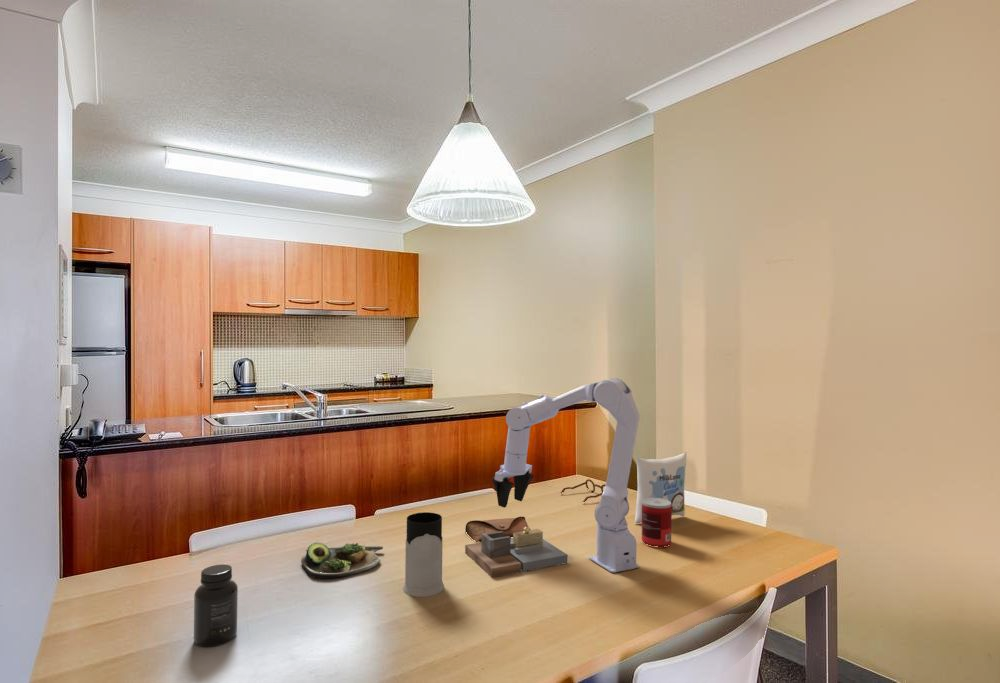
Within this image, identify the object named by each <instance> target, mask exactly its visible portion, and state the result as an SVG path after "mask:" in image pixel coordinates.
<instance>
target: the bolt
mask: <svg viewBox="0 0 1000 683" xmlns="http://www.w3.org/2000/svg"><path fill="white" fill-rule="evenodd" d="M529 529H530V527H529V526H528V527H524V531H521V532H515V533H513V548H520V547H526V546H532V545H538V544H540V545H542V546H543V539H544V538H543V537H544V531H543V530H541V529H539V528H535V529H530V530H529Z"/></svg>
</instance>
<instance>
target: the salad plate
mask: <svg viewBox="0 0 1000 683" xmlns="http://www.w3.org/2000/svg"><path fill="white" fill-rule="evenodd" d="M365 545H366V543H363V544H362V545H361V544H359V543H358V542H356V543H345V545H339V546H336V547H328V546H327V545H326V544H325V543H322V542H314V543H310V545H309V546H308V547H307V549H305V554H304V555H303V556H302V557H301V559H300V561H301V562H300V563H301V565H302V568H303V570H304V571H305V573H306V574H307V573H308V574H307V575H308V576H309V575H310V577H311V576H312V578H313V577H314V579H317V578H318V579H317V580H336V579H341V578H344V577H347V576H348V577H349V576H352V575H356V574H359V573H362V572H366V571H369V570H371V569H373V568H375V567H376V566H377V565H378V564H379V563H380V562H381V558H380V557H379V556H378V555H377V554H375V553H376V552H378V551H381V550H383V548H384V547H383V546H381V545H380V546H379V545H377V546H374V545H373V546H365ZM364 562H365V564H366V563H367V564H366V565H365V566H364V567H360V568H357V569H352V570H350V569H351V567H352V566H353V565H355V564H356V565H358V564H360V563H364ZM320 572H322V573H320Z"/></svg>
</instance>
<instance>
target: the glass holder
mask: <svg viewBox="0 0 1000 683" xmlns="http://www.w3.org/2000/svg"><path fill="white" fill-rule="evenodd" d="M442 531H443V516H442V515H441V514H438V513H435V512H424V511H423V512H416V513H412V514H410V515H408V516H407V517H406V539H405V557H404V558H405V559H404V560H405V564H404V566H405V571H404V573H405V574H404V575H405V577H404V578H405V580H404V584H403V587H402V591H403V592H404V593H405V594H406V595H408V596H410V597H417V598H427V597H432V596H435V595H438V594H440V593H442V591H444V589H445V585H444V582H443V535H442V533H443V532H442Z"/></svg>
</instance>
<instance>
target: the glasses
mask: <svg viewBox="0 0 1000 683" xmlns="http://www.w3.org/2000/svg"><path fill="white" fill-rule="evenodd" d="M588 482H590V483H591V484H592V487H593V489H592V491H594V492H595V491H596V487H597V488H600V491H601V492H600V493H597V494H596V495H588V496H585V497H584V499H583V501H582V502H585V501H586V502H587V501H588V500H589V499H592V498H595V499H596V498H598V497H600V496H602V493H603V491H604V488H605V486H606V483H604V484H602V485H599V484H595V483H594V481H593V480H591V479H590V478H588V479H586V480H585V482H582V483H580V484H576V485H575V486H569V487H564V488H562V490H561V491H560V493H562V492H563V493H564V492H565V491H566V490H575V489H577V488H579V487H582V486H584V485H585V487H586V489H587V488H588V489H590V488H589V486H588ZM588 489H587V490H588ZM586 502H585V503H586Z"/></svg>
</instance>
